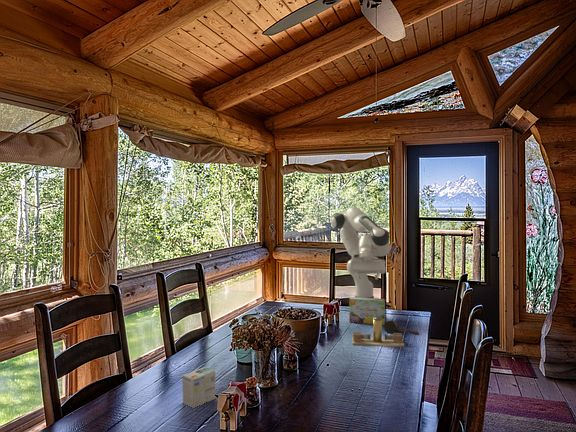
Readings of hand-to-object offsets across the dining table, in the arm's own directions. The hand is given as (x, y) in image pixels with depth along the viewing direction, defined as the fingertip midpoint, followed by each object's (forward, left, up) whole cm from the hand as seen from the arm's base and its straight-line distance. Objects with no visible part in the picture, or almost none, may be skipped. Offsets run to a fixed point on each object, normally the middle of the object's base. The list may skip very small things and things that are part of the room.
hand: (367, 278), depth 239 cm
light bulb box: (+89, -67, -32) cm, 116 cm away
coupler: (+13, +4, -31) cm, 34 cm away
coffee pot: (-5, +19, -32) cm, 37 cm away
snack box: (-26, +1, -32) cm, 41 cm away
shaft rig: (+13, +4, -31) cm, 34 cm away
